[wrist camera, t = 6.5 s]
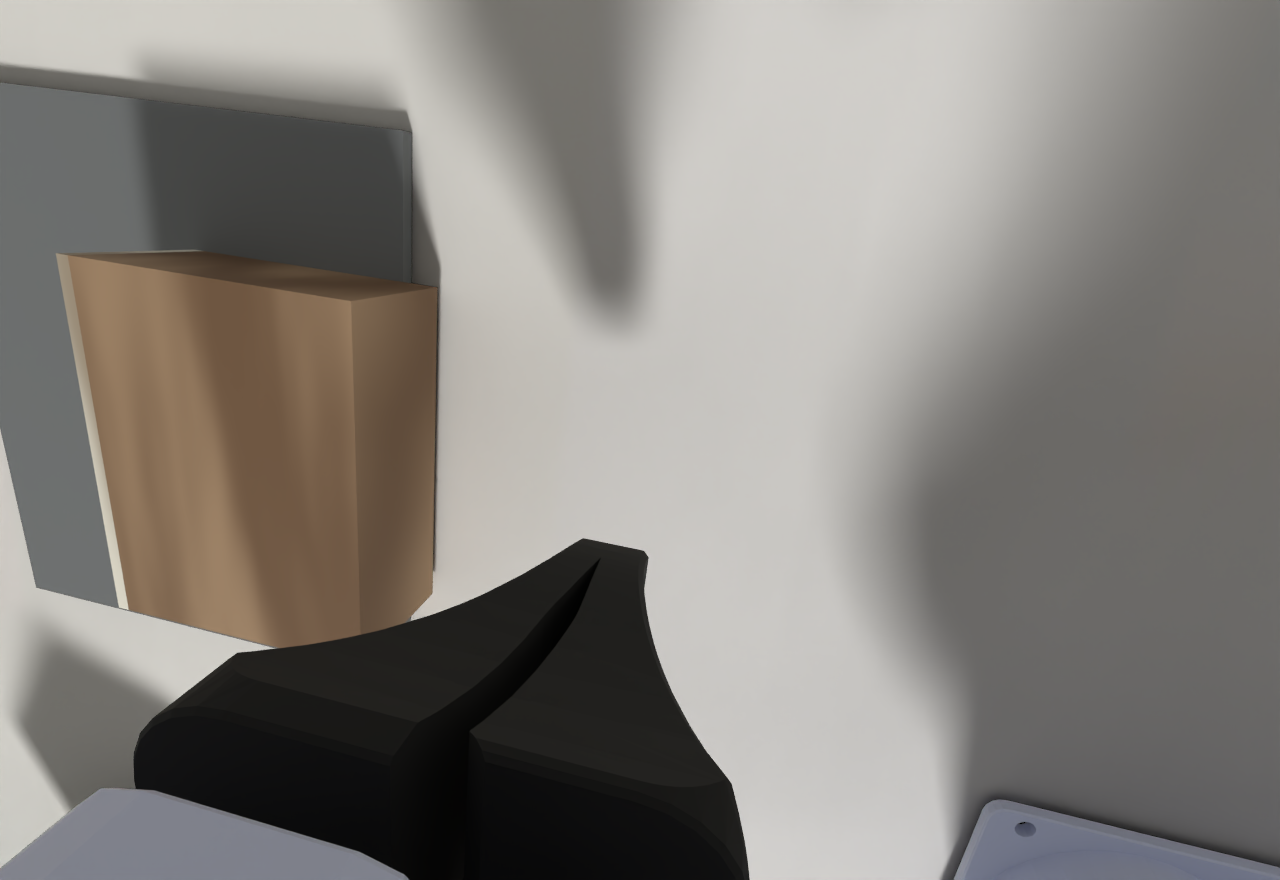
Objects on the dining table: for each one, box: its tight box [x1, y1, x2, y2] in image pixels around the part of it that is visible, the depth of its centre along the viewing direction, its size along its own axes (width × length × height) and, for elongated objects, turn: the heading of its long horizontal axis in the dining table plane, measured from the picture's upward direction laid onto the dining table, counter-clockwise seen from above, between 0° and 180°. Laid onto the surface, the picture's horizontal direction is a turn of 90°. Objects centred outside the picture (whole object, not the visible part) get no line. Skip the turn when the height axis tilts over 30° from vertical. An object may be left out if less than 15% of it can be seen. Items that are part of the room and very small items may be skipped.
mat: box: [0, 82, 412, 648], centre depth 19 cm, size 14×16×1 cm
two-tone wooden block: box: [56, 250, 437, 648], centre depth 16 cm, size 4×9×7 cm
